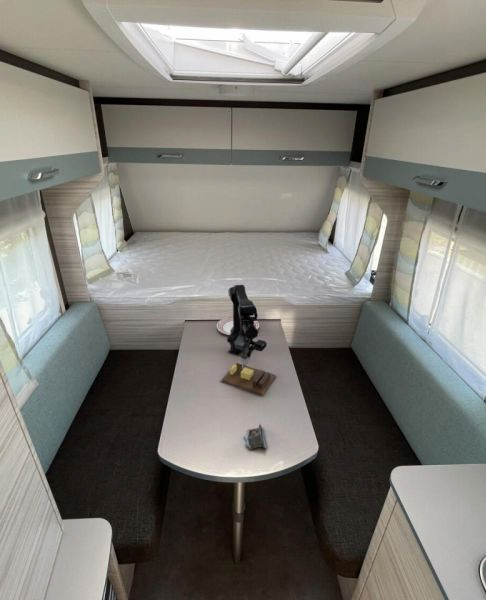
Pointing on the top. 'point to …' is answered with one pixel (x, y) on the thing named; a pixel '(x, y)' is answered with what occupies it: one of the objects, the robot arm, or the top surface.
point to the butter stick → (247, 373)
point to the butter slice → (233, 369)
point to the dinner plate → (229, 325)
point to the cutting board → (255, 384)
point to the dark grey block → (245, 357)
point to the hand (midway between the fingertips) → (246, 356)
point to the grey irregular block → (255, 438)
